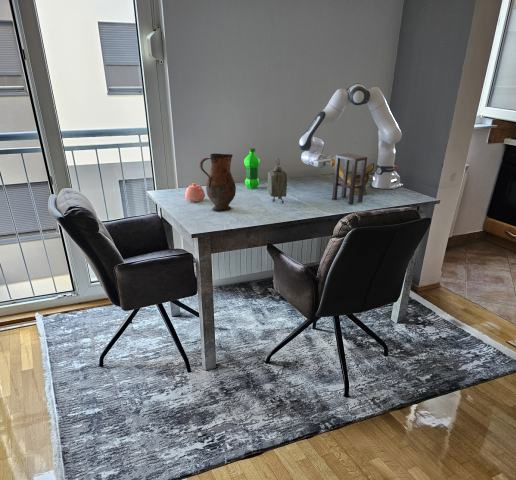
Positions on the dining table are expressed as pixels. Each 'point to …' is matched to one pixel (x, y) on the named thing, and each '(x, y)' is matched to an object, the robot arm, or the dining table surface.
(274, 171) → the tabletop clock
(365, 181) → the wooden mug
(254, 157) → the plastic bottle
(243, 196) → the dining table surface
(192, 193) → the sugar bowl
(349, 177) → the bar
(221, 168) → the pitcher
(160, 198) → the dining table surface
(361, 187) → the stand
